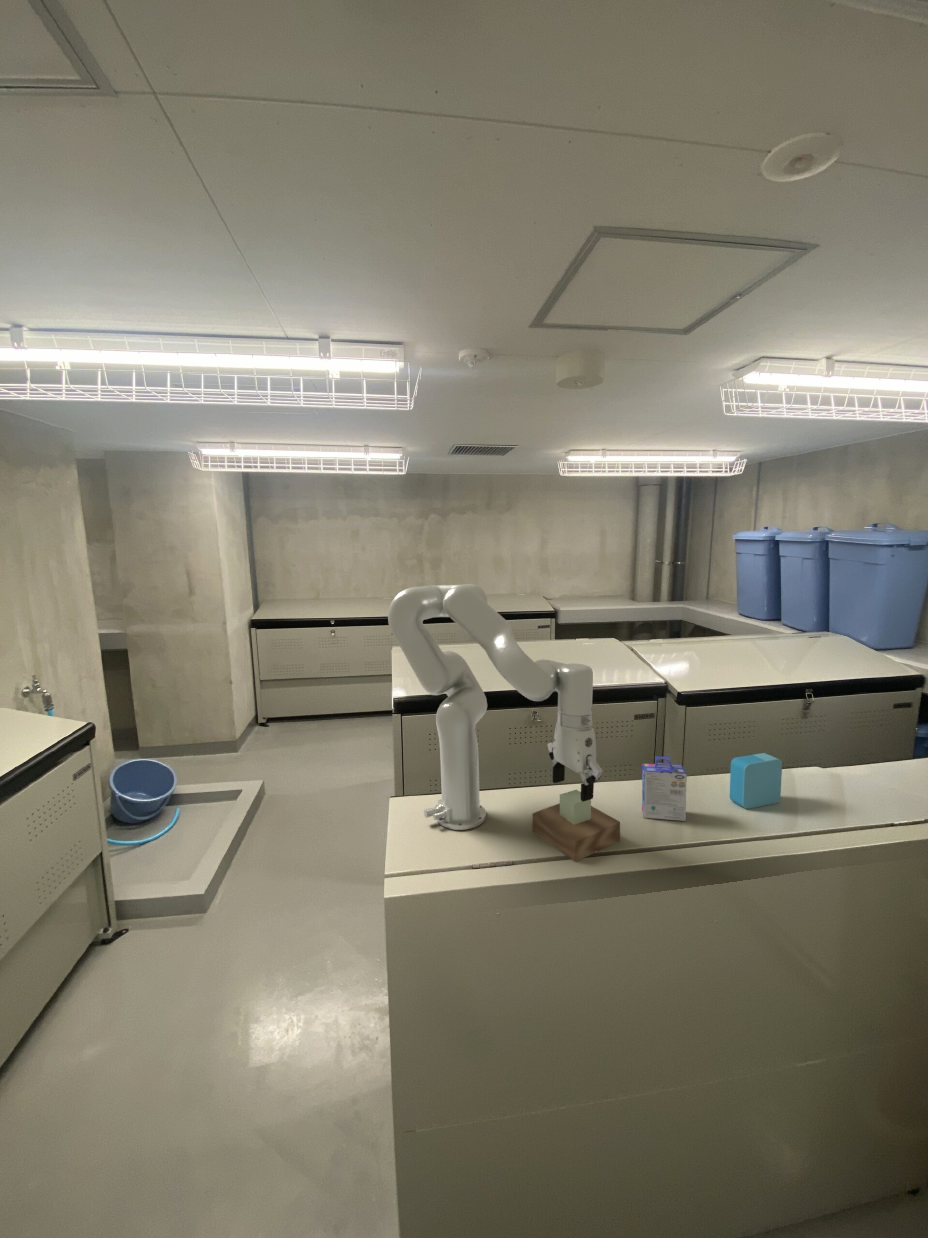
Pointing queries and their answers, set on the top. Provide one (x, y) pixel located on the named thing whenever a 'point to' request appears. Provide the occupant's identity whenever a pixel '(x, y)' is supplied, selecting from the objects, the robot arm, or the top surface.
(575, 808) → the sage cube
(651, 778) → the ink cartridge box
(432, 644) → the robot arm
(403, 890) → the top surface
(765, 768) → the blue rounded block
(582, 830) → the walnut block
